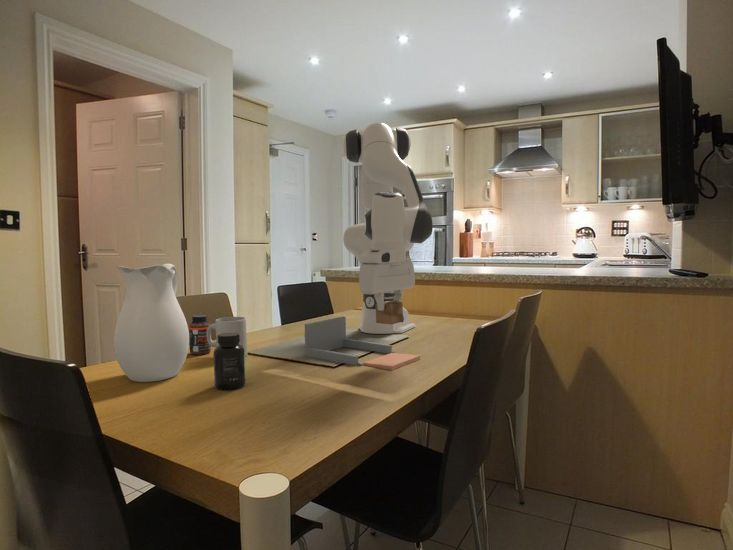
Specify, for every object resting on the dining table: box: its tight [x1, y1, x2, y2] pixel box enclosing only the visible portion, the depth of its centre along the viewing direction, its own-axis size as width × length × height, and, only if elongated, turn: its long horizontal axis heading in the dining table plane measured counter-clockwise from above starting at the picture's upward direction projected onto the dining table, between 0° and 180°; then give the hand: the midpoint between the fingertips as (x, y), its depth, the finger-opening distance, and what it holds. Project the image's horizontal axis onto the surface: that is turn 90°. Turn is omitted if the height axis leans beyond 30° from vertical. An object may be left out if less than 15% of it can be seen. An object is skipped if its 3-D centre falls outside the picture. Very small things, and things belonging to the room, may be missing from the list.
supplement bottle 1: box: [188, 314, 212, 356], centre depth 141 cm, size 6×6×11 cm
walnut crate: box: [375, 301, 404, 325], centre depth 123 cm, size 5×5×5 cm
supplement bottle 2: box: [212, 333, 247, 391], centre depth 108 cm, size 7×7×12 cm
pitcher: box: [113, 263, 190, 383], centre depth 120 cm, size 24×17×28 cm
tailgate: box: [362, 352, 421, 371], centre depth 123 cm, size 1×13×9 cm
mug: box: [207, 316, 248, 358], centre depth 137 cm, size 12×8×11 cm
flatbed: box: [304, 315, 397, 367], centre depth 132 cm, size 20×16×10 cm
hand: (389, 308), depth 123 cm, fingers closed on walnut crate, 5 cm apart
